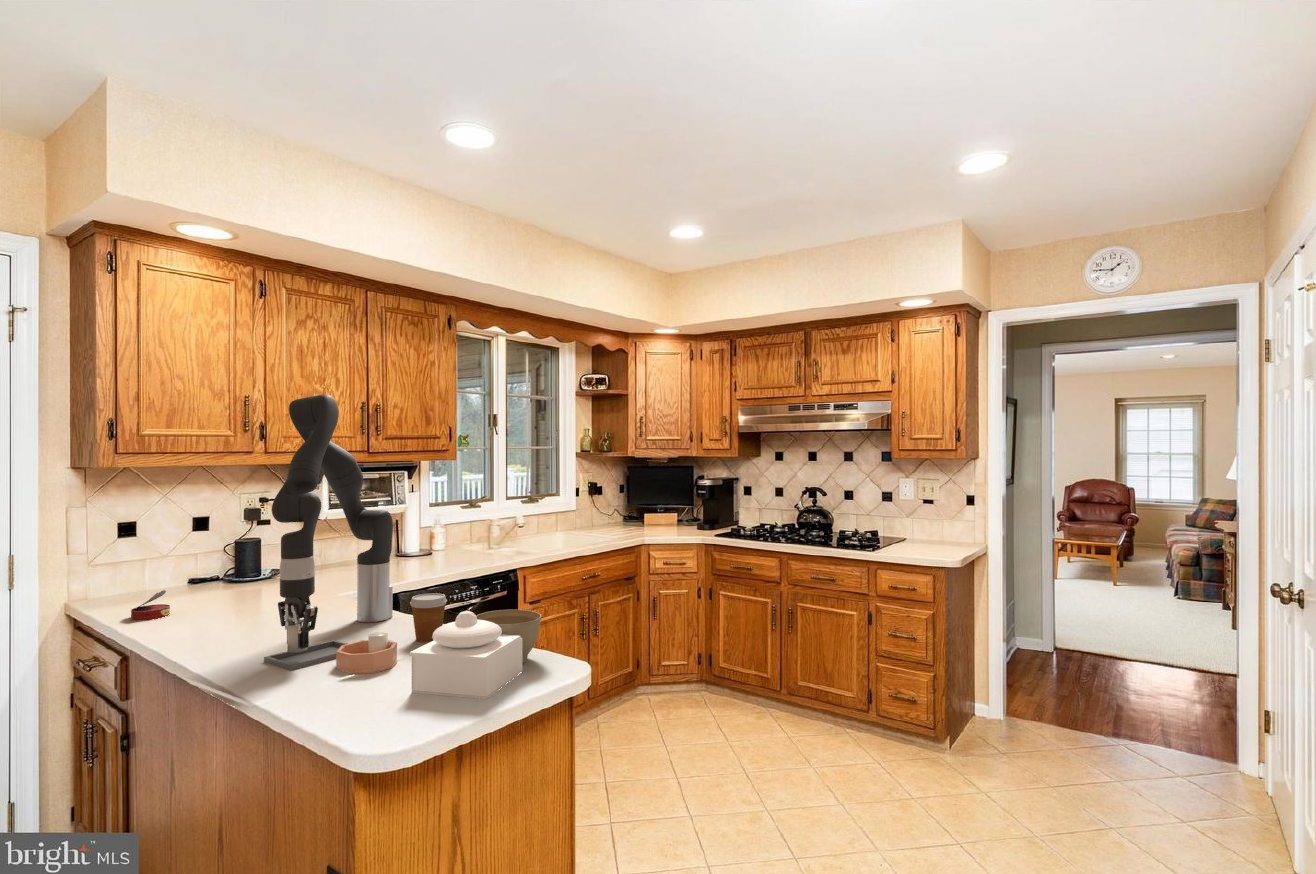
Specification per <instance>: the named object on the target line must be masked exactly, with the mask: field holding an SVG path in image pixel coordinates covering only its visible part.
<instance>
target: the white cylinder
mask: <svg viewBox="0 0 1316 874" xmlns="http://www.w3.org/2000/svg"><path fill="white" fill-rule="evenodd" d="M367 637H368V639H367V640H368V653H374V652H377V651H381V650H385V649H388V640H389V634H388V632H385V631H384V632H379V631H378V632H373V633H369V634H368V636H367Z"/></svg>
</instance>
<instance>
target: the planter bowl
mask: <svg viewBox="0 0 1316 874" xmlns="http://www.w3.org/2000/svg"><path fill="white" fill-rule="evenodd" d="M476 616H477V620H485V621H489V622H493V623H495V624H497V625H498V626H499V627H500V628H501V630H502V633H501V635H516V636H521V638H522V664H523V663H525V662H526V661H527V660H528V657H529V654H530V652H532V650H533V648H534V647H535V645H536V642H537V640H538V637H539V635H540V630H541V621H542V614H541V613H539V612H536V611H534V610H528V609H527V610H526V609H499V610H491V611H485V612H482V613H479V614H477V615H476Z"/></svg>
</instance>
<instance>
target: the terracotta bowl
mask: <svg viewBox="0 0 1316 874" xmlns="http://www.w3.org/2000/svg"><path fill="white" fill-rule="evenodd" d="M397 659H398V642H397V641H393V640H389V639H388V649H385V650H381V651H377V652H374V653H368V639H366V640H365V639H364V640H363V639H362V640H359V641H354V642H351V643H348V644H346V645H342V646H341V647H340V648H339V649H338V650H337V651H336V659H335V660H336V661H335V665H336V666H335V667H336V669H337V670H339V671H341V672H346V673H347V672H348V673H349V674H348V675H349V676H350V675H351V676H352V675H354V676H355V675H356V676H357V675H368V674H375V673H379V672H383V671H387V670H389V669H392V668H394V667H395V666H396V665H397V664H398V663H397V661H398V660H397Z"/></svg>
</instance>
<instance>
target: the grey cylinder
mask: <svg viewBox="0 0 1316 874" xmlns="http://www.w3.org/2000/svg"><path fill="white" fill-rule="evenodd" d="M302 627H303V623H302ZM286 646H287V651H288V652H291V653H295V652H302V651H305V650H307V649H308V647H307V648H303V649H300V648H298V628H297V624H295V623H294V624H290V625H288V626H287V630H286Z"/></svg>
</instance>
